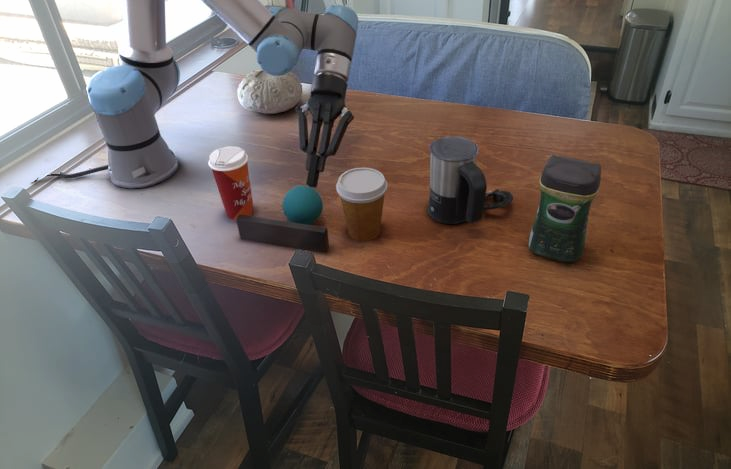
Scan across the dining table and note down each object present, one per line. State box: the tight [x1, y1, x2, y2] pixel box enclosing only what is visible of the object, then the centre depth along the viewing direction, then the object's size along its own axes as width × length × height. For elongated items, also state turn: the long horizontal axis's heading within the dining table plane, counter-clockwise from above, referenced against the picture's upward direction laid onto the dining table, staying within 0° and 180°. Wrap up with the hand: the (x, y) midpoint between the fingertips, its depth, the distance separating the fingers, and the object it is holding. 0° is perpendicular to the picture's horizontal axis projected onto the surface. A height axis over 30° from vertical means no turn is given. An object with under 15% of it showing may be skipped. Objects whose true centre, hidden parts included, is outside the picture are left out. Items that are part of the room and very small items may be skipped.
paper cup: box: [207, 145, 255, 222], centre depth 109 cm, size 8×8×14 cm
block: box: [235, 214, 330, 254], centre depth 103 cm, size 18×2×5 cm, turn 74°
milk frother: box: [427, 136, 514, 225], centre depth 106 cm, size 14×16×15 cm
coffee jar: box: [528, 154, 602, 263], centre depth 95 cm, size 10×8×19 cm
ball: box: [281, 185, 324, 225], centre depth 107 cm, size 8×8×8 cm
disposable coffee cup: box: [335, 167, 388, 242], centre depth 103 cm, size 10×10×12 cm
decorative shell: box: [237, 68, 303, 115], centre depth 149 cm, size 18×18×10 cm
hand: (311, 185), depth 115 cm, fingers closed
